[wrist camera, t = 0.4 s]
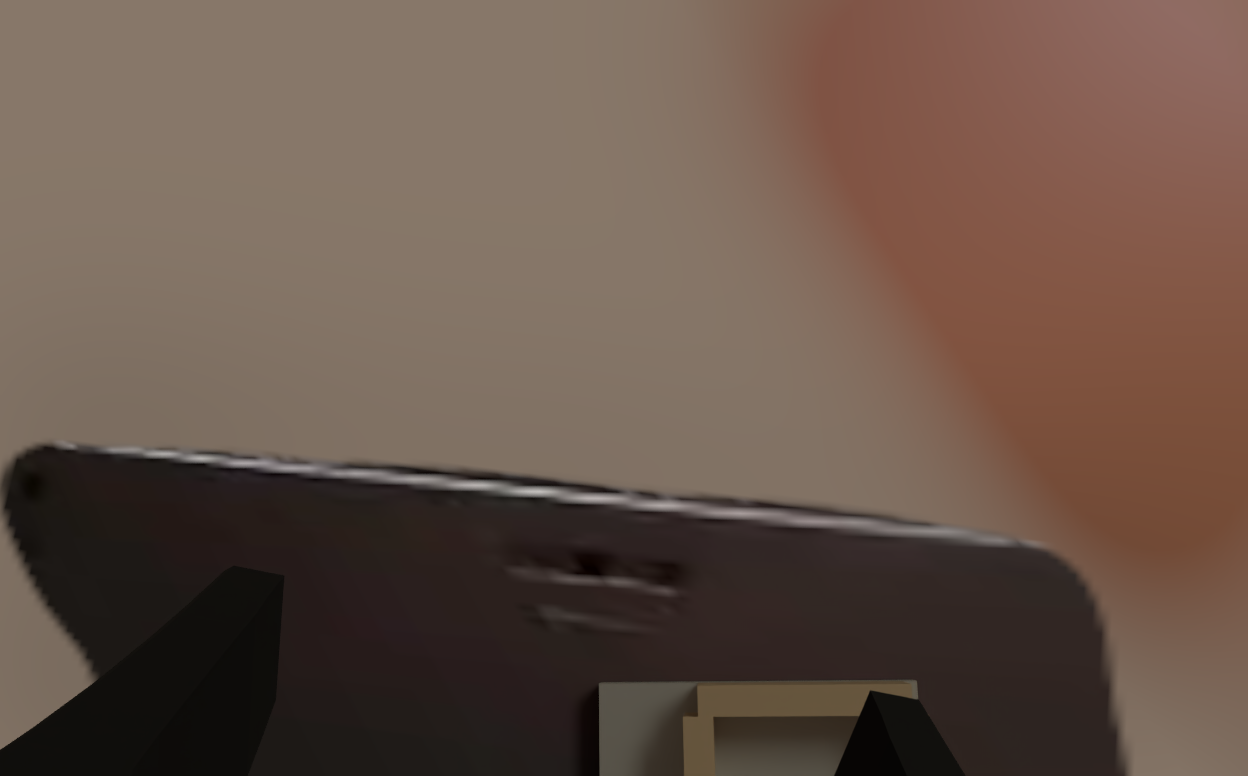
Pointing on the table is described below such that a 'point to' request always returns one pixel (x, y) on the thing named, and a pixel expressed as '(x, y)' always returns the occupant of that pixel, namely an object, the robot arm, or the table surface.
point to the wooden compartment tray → (732, 726)
